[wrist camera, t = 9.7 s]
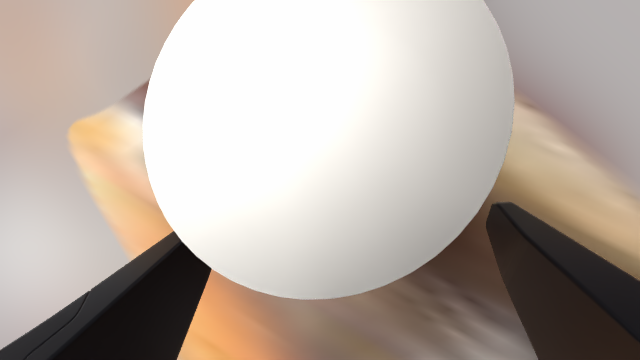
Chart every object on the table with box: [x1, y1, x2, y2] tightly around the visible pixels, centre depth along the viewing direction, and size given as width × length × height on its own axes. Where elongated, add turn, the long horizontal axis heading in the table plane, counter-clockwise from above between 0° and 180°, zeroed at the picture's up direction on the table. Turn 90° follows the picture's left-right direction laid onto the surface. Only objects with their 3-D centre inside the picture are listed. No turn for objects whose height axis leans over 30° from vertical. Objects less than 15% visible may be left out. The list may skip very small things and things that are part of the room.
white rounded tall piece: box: [143, 0, 515, 300], centre depth 10 cm, size 7×7×12 cm
